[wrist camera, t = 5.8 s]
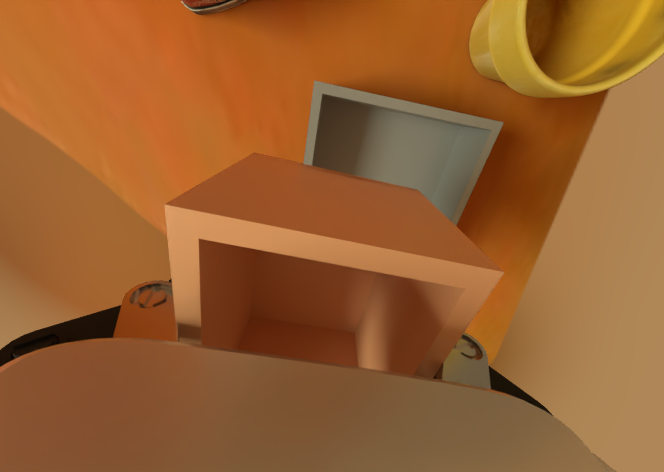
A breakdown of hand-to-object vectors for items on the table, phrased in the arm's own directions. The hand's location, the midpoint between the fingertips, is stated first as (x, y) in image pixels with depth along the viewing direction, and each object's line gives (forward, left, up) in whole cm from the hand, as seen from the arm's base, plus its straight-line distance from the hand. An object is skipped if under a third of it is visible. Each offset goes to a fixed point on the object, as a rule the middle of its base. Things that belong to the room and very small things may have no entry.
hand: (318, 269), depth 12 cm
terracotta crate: (0, 0, -1) cm, 1 cm away
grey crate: (-1, +5, -18) cm, 18 cm away
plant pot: (-15, +13, -18) cm, 27 cm away
